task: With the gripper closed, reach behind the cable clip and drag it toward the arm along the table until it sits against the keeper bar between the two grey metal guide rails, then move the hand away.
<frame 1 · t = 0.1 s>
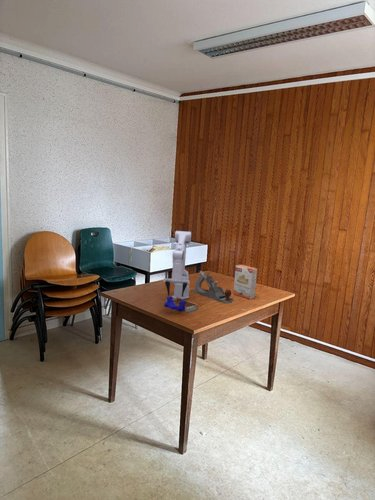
hand: (175, 295, 206), 11 cm above the table, tool pointing down, fingers open, 7 cm apart
hand plane: (211, 296, 247), on the table
cracker box: (243, 296, 251), on the table
keeper: (181, 306, 221), on the table
cable clip: (174, 309, 216), on the table
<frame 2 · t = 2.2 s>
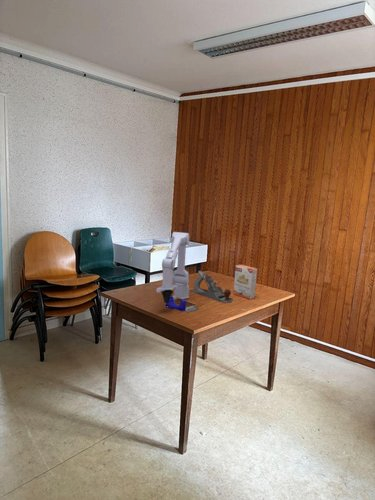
hand: (166, 302, 210), 5 cm above the table, tool pointing down, fingers closed
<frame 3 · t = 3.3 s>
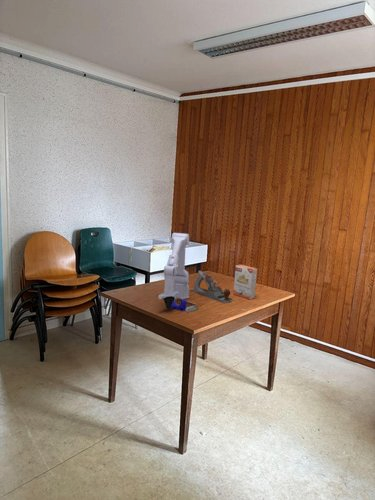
hand: (168, 308, 212), 1 cm above the table, tool pointing down, fingers closed
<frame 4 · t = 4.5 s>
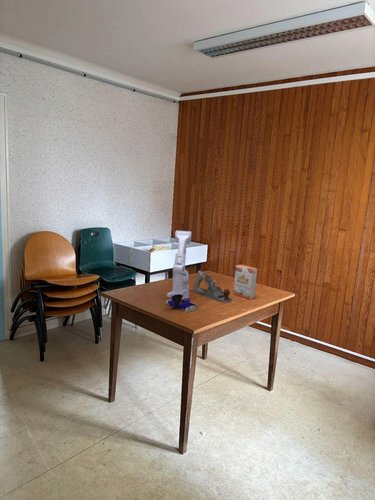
hand: (176, 306, 217), 1 cm above the table, tool pointing down, fingers closed
cable clip: (179, 307, 220), on the table, touching gripper
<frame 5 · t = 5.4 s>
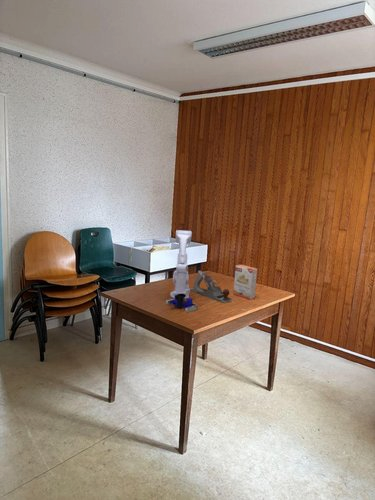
hand: (179, 305, 219), 1 cm above the table, tool pointing down, fingers closed
cable clip: (182, 306, 222), on the table, touching gripper, keeper
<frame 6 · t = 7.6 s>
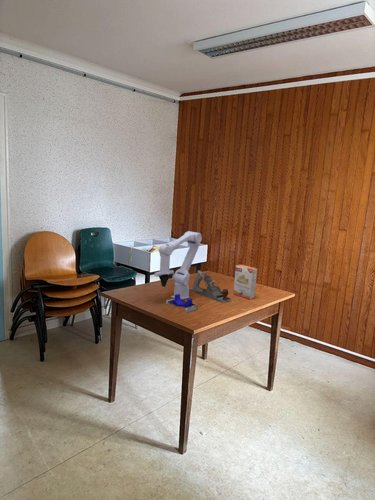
hand: (163, 286, 226), 10 cm above the table, tool pointing down, fingers closed
cable clip: (182, 306, 222), on the table
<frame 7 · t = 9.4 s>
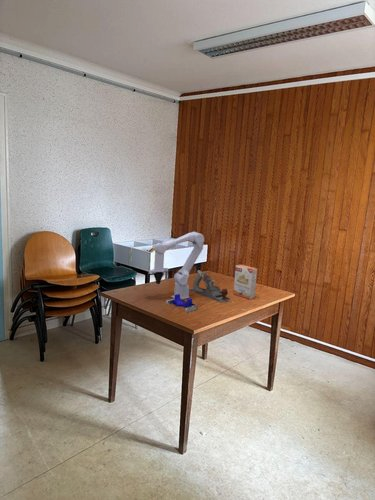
hand: (157, 283, 231), 10 cm above the table, tool pointing down, fingers closed
at the end: cable clip inside the target area on the keeper (1.1 cm from its centre), point 0.0 cm above the keeper's base; cable clip moved 7.2 cm from its start; cable clip tilted 0° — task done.
